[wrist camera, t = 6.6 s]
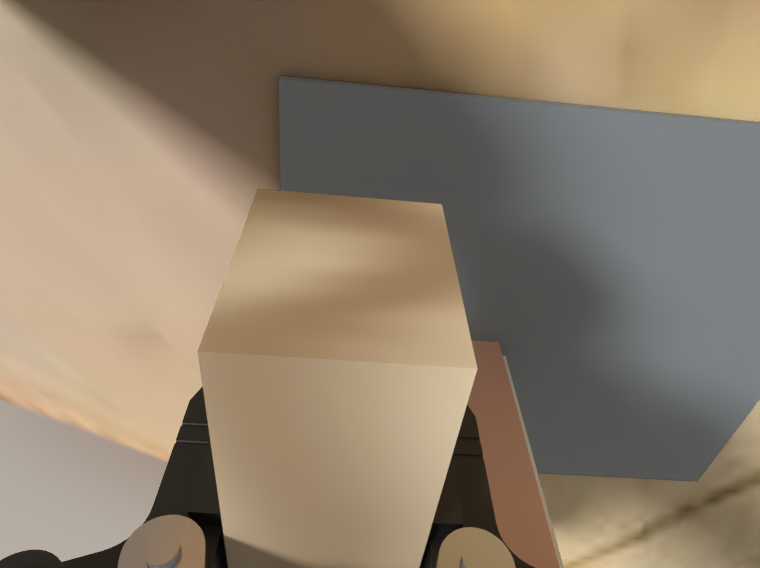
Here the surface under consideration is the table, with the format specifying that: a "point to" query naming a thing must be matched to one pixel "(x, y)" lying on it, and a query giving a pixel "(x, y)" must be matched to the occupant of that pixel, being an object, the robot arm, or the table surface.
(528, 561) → the tile
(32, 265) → the table surface
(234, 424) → the beige pillar on base
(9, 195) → the table surface
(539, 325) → the mat
